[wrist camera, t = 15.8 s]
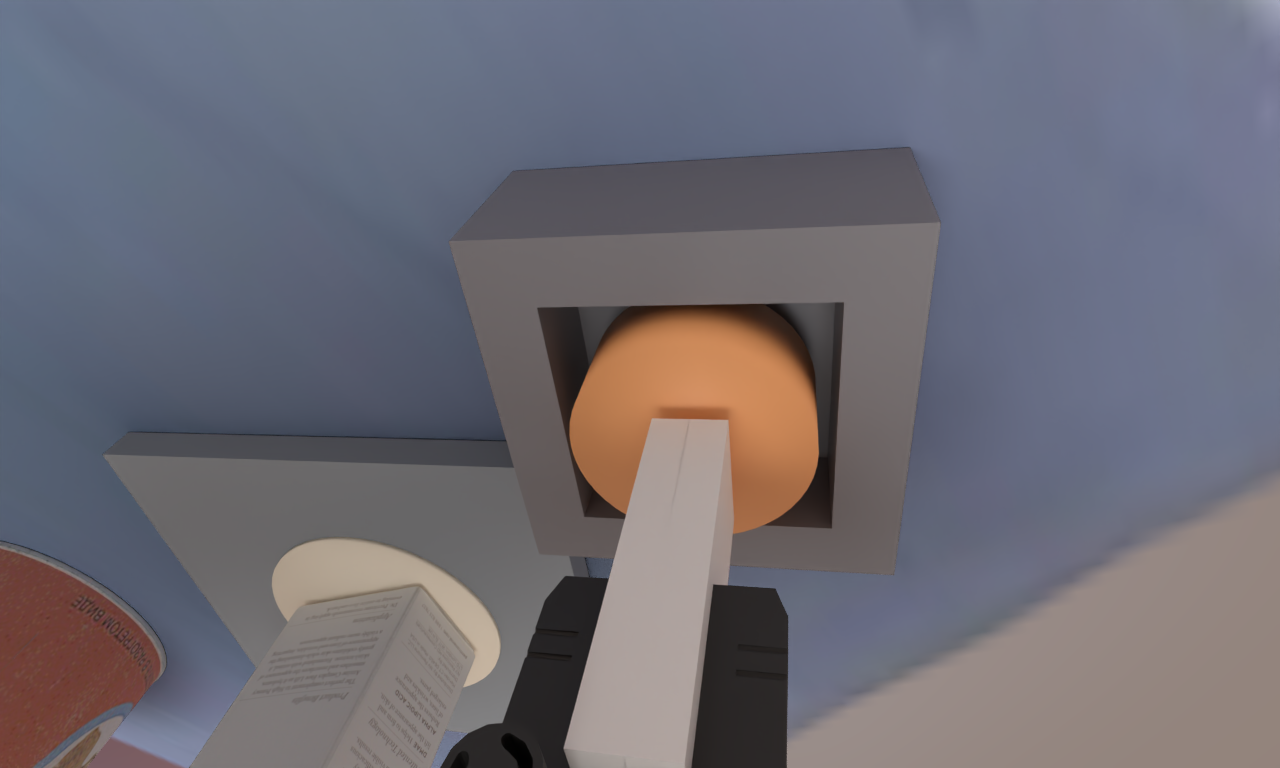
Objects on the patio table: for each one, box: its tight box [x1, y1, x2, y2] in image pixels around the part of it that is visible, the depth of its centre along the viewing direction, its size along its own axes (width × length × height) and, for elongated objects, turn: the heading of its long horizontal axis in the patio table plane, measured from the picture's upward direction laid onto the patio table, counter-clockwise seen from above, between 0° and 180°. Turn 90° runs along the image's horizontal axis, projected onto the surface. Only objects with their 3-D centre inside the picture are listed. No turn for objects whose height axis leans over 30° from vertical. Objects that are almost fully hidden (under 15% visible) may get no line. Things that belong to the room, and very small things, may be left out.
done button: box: [570, 304, 819, 534], centre depth 16 cm, size 5×5×2 cm
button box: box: [449, 148, 941, 575], centre depth 17 cm, size 9×9×4 cm
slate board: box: [102, 432, 589, 733], centre depth 28 cm, size 16×16×1 cm
